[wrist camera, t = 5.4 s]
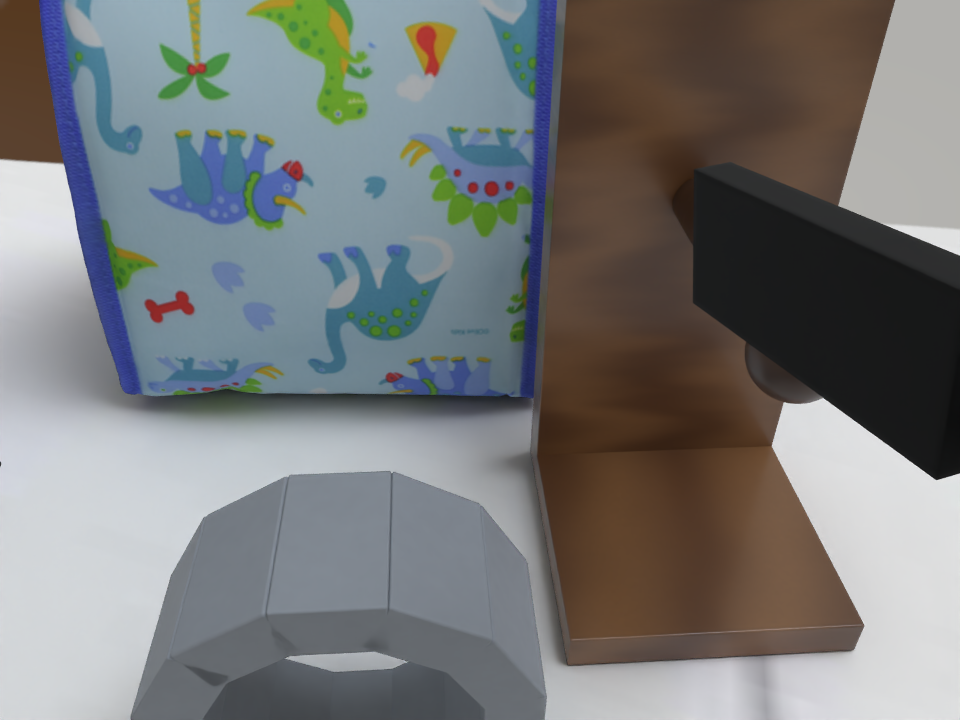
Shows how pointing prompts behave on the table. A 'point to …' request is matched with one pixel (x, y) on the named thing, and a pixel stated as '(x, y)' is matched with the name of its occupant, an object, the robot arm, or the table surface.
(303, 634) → the tape
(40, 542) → the table surface
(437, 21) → the lunch bag
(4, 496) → the table surface
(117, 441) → the table surface
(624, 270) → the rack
